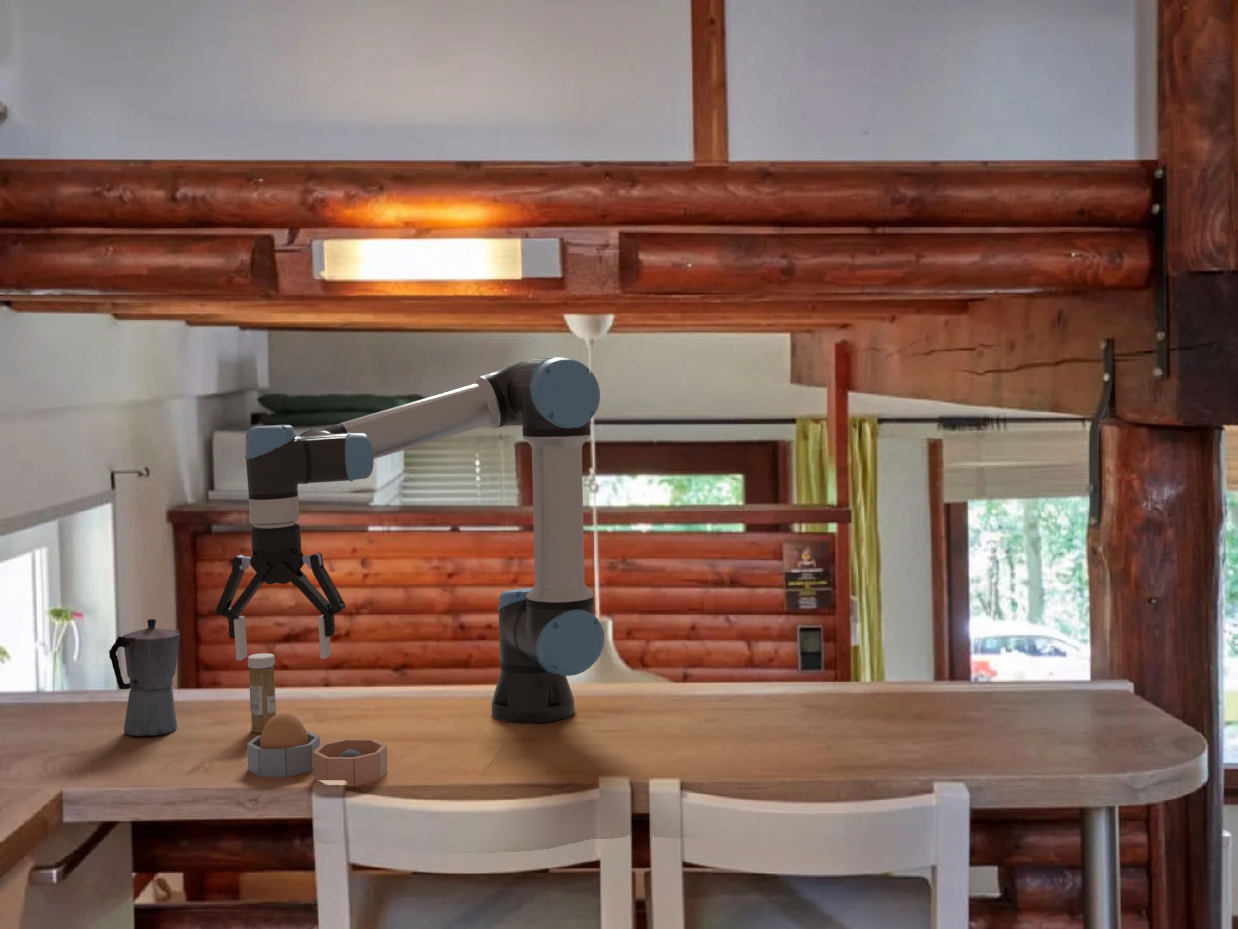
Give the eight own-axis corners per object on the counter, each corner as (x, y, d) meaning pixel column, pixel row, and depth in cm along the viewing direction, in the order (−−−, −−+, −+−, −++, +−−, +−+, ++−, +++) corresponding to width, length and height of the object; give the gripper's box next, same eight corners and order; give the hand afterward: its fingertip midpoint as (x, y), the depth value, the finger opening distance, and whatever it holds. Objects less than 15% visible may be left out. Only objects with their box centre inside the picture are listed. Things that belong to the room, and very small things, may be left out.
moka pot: (201, 723, 240) (197, 614, 238) (138, 747, 226) (132, 630, 225) (161, 718, 244) (156, 610, 242) (96, 741, 230) (90, 626, 229)
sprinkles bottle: (280, 731, 234) (278, 655, 233) (255, 735, 232) (252, 659, 231) (272, 725, 238) (269, 651, 237) (247, 729, 236) (244, 654, 235)
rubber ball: (367, 771, 208) (366, 746, 207) (359, 779, 204) (359, 754, 203) (342, 771, 208) (341, 746, 208) (334, 779, 204) (333, 753, 204)
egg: (264, 776, 206) (262, 722, 206) (257, 763, 213) (255, 710, 212) (312, 769, 209) (310, 716, 208) (304, 757, 216) (302, 705, 215)
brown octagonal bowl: (392, 770, 211) (391, 739, 210) (374, 791, 200) (373, 759, 200) (329, 769, 212) (327, 738, 211) (307, 790, 201) (306, 758, 201)
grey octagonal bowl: (327, 761, 216) (326, 731, 215) (305, 782, 205) (304, 750, 205) (264, 761, 217) (263, 730, 216) (240, 781, 206) (239, 749, 206)
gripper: (359, 518, 210) (367, 650, 212) (208, 523, 213) (216, 653, 215) (345, 525, 203) (353, 662, 205) (188, 529, 206) (197, 664, 207)
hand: (283, 658), depth 210 cm, fingers open, 13 cm apart
